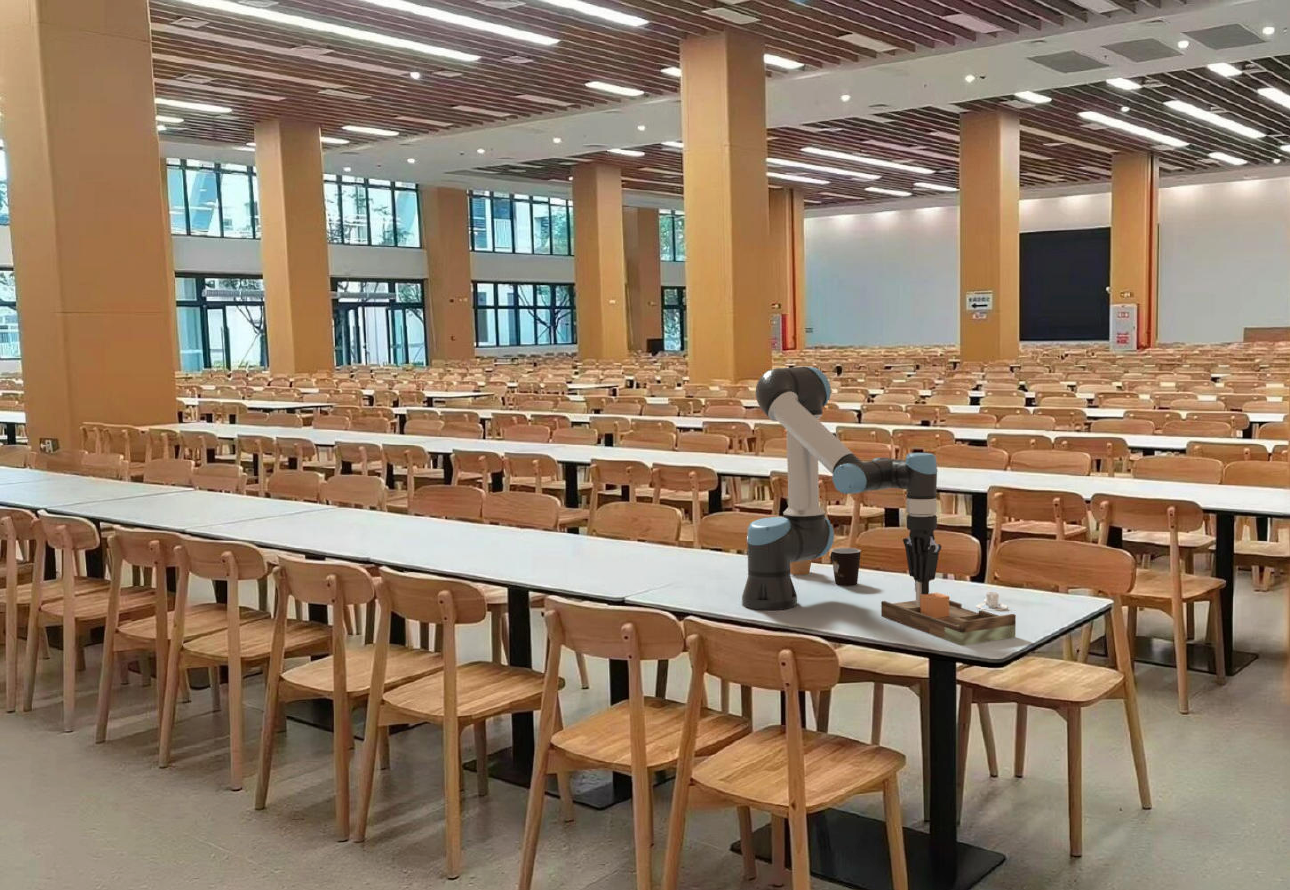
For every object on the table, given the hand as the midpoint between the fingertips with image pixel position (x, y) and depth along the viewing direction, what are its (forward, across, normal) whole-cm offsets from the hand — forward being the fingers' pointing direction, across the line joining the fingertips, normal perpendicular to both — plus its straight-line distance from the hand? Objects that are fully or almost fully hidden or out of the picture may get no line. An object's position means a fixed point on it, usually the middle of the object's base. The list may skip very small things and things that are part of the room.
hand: (922, 605), depth 309 cm
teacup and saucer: (+5, +6, -30) cm, 31 cm away
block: (+2, -4, -1) cm, 5 cm away
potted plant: (+5, +70, -6) cm, 70 cm away
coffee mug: (+5, +51, -10) cm, 52 cm away
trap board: (+5, -5, -3) cm, 7 cm away
